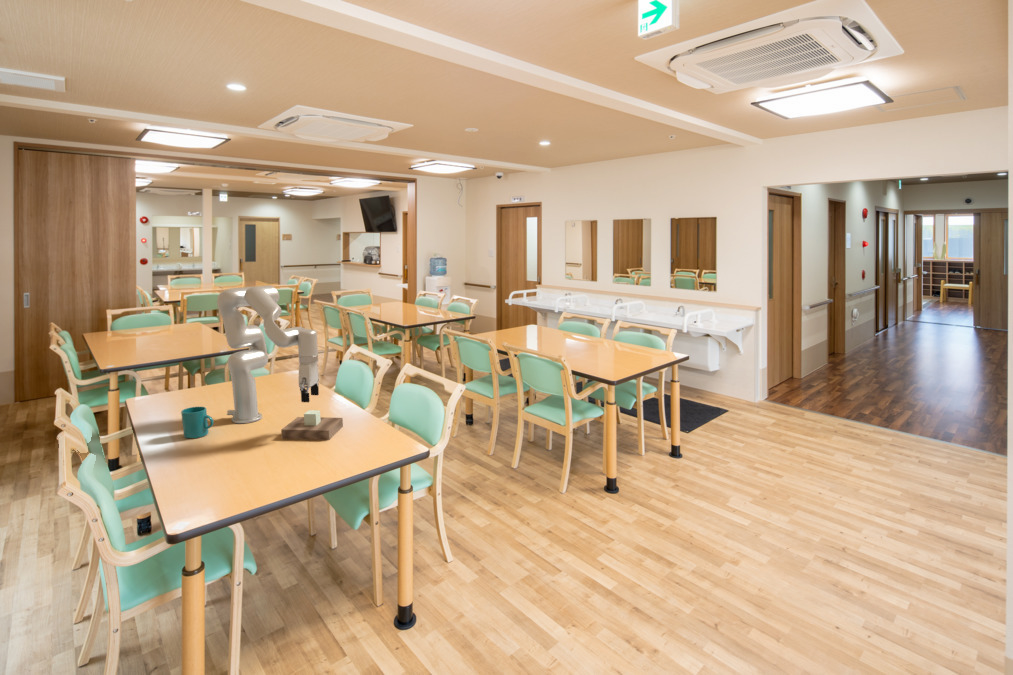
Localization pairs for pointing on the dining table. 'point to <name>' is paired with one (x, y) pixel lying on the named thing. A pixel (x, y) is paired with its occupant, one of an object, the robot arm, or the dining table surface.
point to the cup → (195, 422)
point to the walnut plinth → (312, 429)
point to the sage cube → (312, 417)
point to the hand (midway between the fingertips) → (310, 398)
